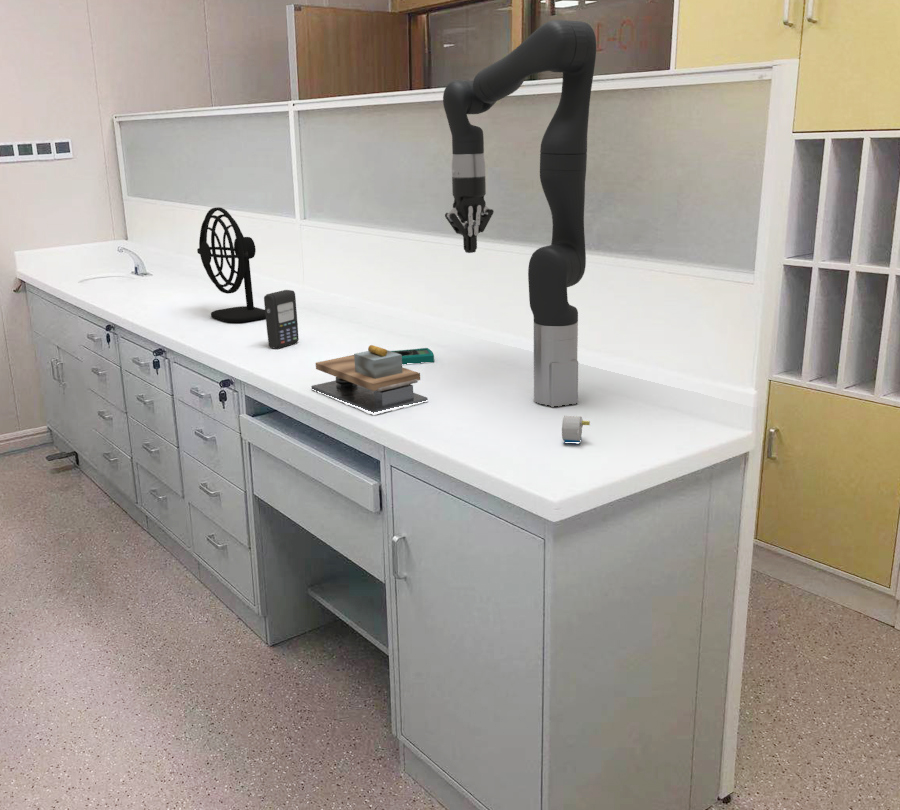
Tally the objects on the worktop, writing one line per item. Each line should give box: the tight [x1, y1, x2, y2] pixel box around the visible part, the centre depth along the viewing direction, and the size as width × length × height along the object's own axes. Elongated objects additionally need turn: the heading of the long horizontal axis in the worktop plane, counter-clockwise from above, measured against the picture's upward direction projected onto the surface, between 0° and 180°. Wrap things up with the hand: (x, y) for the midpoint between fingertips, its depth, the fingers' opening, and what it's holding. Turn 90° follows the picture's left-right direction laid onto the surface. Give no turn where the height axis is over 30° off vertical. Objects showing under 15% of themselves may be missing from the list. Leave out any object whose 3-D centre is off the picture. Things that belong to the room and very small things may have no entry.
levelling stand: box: [310, 376, 428, 413], centre depth 198 cm, size 26×14×5 cm, turn 38°
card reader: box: [263, 289, 299, 349], centre depth 245 cm, size 9×4×15 cm, turn 146°
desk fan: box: [196, 206, 266, 323], centre depth 281 cm, size 27×18×35 cm, turn 40°
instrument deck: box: [315, 344, 421, 392], centre depth 196 cm, size 24×12×8 cm, turn 38°
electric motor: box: [561, 415, 591, 443], centre depth 165 cm, size 7×5×5 cm
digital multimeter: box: [390, 347, 435, 365], centre depth 227 cm, size 7×15×3 cm, turn 101°
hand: (470, 252), depth 205 cm, fingers closed
